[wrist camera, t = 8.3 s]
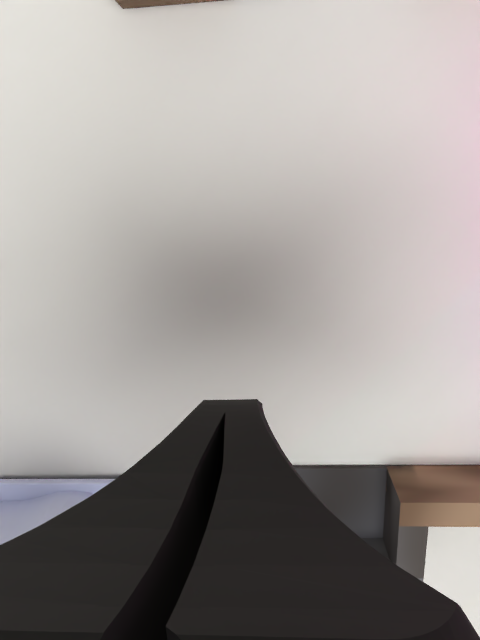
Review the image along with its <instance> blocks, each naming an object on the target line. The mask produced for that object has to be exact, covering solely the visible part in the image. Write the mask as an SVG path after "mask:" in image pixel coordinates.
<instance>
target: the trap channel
mask: <svg viewBox="0 0 480 640" xmlns="http://www.w3.org/2000/svg"><path fill="white" fill-rule="evenodd" d="M210 1H222V0H116V2H117V3H118V4H119V5H120V6H121V7H122V8H123V9H125V8H137V7H149V6H161V5H173V4H185V3H197V2H210ZM293 467H294V468H295V470H296V471H297V473H298V474H299V475H300V476H301V478H302V479H303V480H304V482H305V483H306V484H307V485H308V487H309V488H310V489H311V490H312V491H313V492H314V493H315V494H316V496H317V497H318V498H319V499H320V500H321V501H322V502H323V503H324V504H325V505H326V506H327V507H328V508H329V509H330V510H331V511H332V513H333V514H334V515H335V516H336V517H337V518H339V519H340V520H341V521H342V522H343V523H344V524H345V525H347V526H348V527H349V528H350V529H351V530H352V531H353V532H355V533H356V534H357V535H358V536H359V537H360V538H361V539H363V540H364V541H365V542H366V543H367V544H369V545H370V546H371V547H373V548H374V549H375V550H377V551H378V552H379V553H381V554H382V555H384V556H385V557H386V558H388V559H389V560H390V561H392V562H393V563H394V564H396V565H397V566H399V567H400V568H402V569H403V570H405V571H407V572H408V573H410V574H411V575H413V576H414V577H416V578H418V579H419V580H421V581H422V582H423V578H424V567H425V556H426V546H427V535H428V526H434V527H480V465H397V466H293Z"/></svg>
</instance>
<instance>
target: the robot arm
mask: <svg viewBox="0 0 480 640" xmlns="http://www.w3.org/2000/svg"><path fill="white" fill-rule="evenodd" d="M0 640H480V637H479V636H478V634H477V633H476V631H475V629H474V628H473V626H472V624H471V623H470V621H469V620H468V618H467V616H466V615H465V613H464V612H463V610H462V609H461V607H460V606H459V605H458V604H457V603H456V602H454V601H453V600H451V599H449V598H448V597H446V596H445V595H443V594H441V593H440V592H438V591H437V590H435V589H433V588H432V587H430V586H429V585H427V584H426V583H424V582H422V581H421V580H419V579H418V578H416V577H414V576H413V575H411V574H410V573H408V572H407V571H405V570H403V569H402V568H400V567H399V566H397V565H396V564H394V563H393V562H392V561H390V560H389V559H388V558H386V557H385V556H384V555H382V554H381V553H379V552H378V551H377V550H375V549H374V548H373V547H371V546H370V545H369V544H367V543H366V542H365V541H364V540H363V539H361V538H360V537H359V536H358V535H357V534H356V533H355V532H353V531H352V530H351V529H350V528H349V527H348V526H347V525H345V524H344V523H343V522H342V521H341V520H340V519H339V518H337V517H336V516H335V515H334V514H333V513H332V511H331V510H330V509H329V508H328V507H327V506H326V505H325V504H324V503H323V502H322V501H321V500H320V499H319V498H318V497H317V496H316V494H315V493H314V492H313V491H312V490H311V489H310V488H309V487H308V485H307V484H306V483H305V482H304V480H303V479H302V478H301V476H300V475H299V474H298V473H297V471H296V470H295V468H294V467H293V466H292V464H291V463H290V461H289V460H288V458H287V457H286V455H285V454H284V452H283V451H282V449H281V447H280V446H279V444H278V442H277V440H276V439H275V437H274V435H273V433H272V431H271V429H270V427H269V425H268V423H267V421H266V418H265V415H264V412H263V408H262V403H261V402H259V401H258V400H257V399H251V400H203V401H202V402H201V403H200V404H199V405H198V406H197V407H196V408H195V409H194V410H193V411H192V412H191V413H190V414H189V415H188V416H187V417H186V418H185V419H184V420H183V421H182V422H181V423H180V424H179V425H178V426H177V427H176V428H175V429H174V430H173V431H172V432H171V433H170V434H169V435H168V436H167V437H166V438H165V439H164V440H163V441H162V442H161V443H160V444H158V445H157V446H156V447H155V448H154V449H153V450H151V451H150V452H149V453H148V454H147V455H145V456H144V457H143V458H142V459H141V460H140V461H138V462H137V463H136V464H135V465H134V466H132V467H131V468H130V469H129V470H127V471H126V472H125V473H123V474H122V475H121V476H119V477H118V478H116V479H0Z"/></svg>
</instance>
